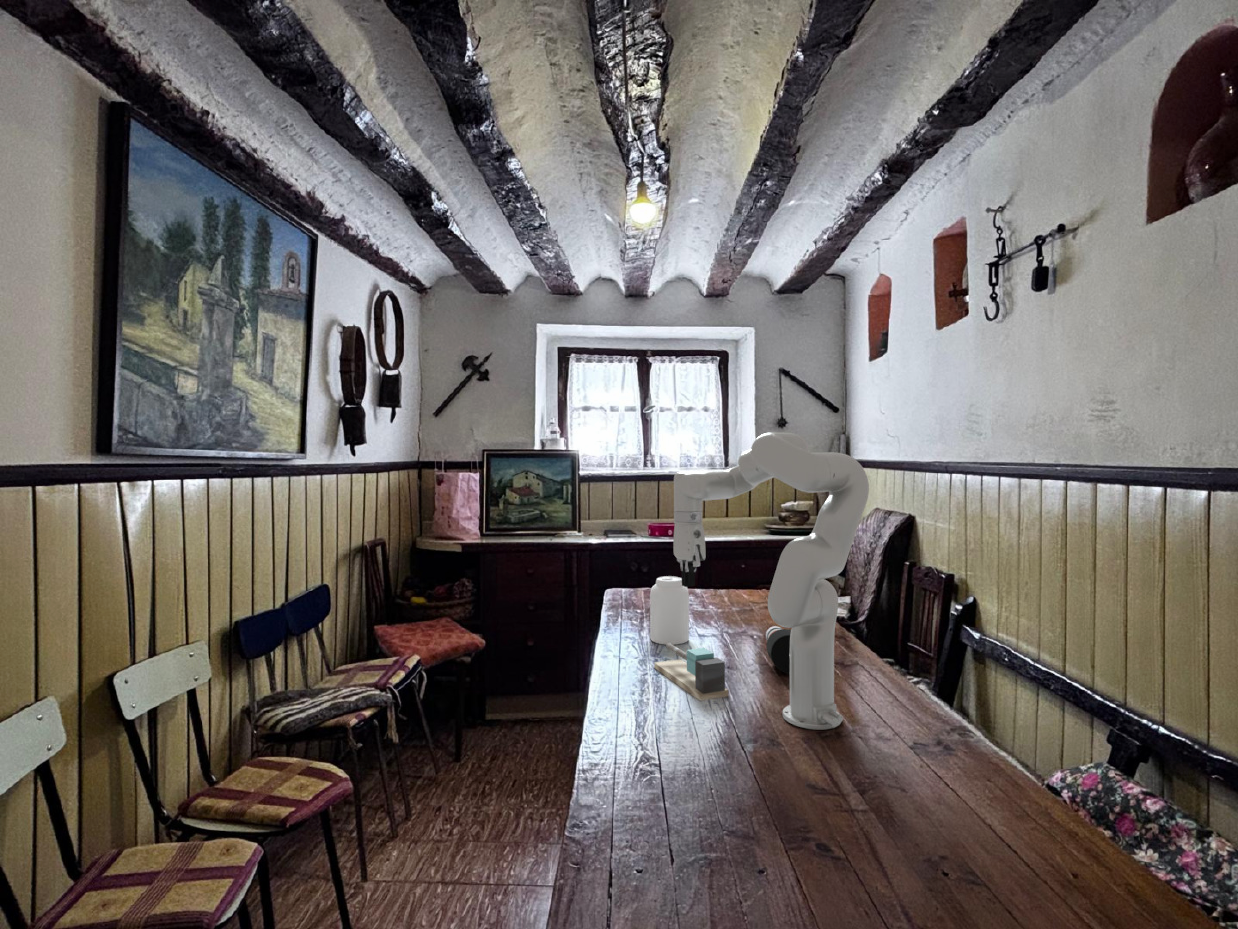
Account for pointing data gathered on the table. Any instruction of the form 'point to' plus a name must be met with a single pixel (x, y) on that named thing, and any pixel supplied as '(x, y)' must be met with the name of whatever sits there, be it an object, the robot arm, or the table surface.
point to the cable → (779, 647)
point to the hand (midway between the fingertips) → (688, 585)
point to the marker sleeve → (697, 657)
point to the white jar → (669, 611)
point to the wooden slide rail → (696, 675)
